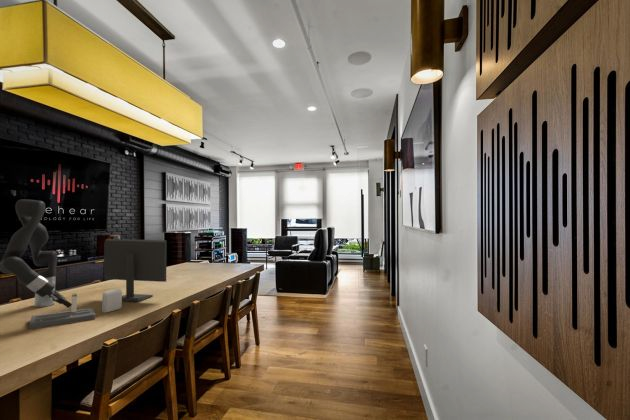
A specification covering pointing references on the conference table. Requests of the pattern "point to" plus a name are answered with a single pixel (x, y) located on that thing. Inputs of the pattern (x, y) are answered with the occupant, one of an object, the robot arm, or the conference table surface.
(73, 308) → the fader
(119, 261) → the computer monitor
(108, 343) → the conference table surface
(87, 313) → the grey slider track board
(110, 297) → the photo printer
